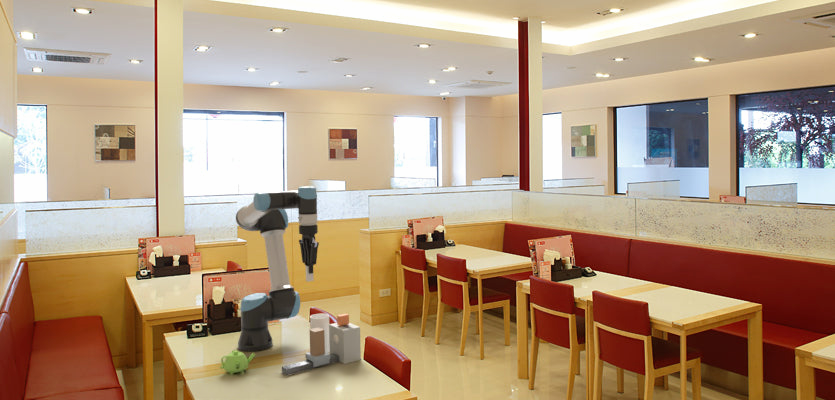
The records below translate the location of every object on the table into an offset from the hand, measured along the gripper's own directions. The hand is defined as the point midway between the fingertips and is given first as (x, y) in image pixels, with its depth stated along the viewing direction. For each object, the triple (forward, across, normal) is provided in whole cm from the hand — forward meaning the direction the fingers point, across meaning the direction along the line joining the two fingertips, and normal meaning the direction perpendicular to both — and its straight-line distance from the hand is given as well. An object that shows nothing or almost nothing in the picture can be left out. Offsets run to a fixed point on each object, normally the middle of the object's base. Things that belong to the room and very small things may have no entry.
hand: (309, 280), depth 239 cm
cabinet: (+34, +5, +13) cm, 37 cm away
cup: (+35, -9, +9) cm, 37 cm away
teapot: (+35, -10, -28) cm, 46 cm away
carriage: (+33, +5, 0) cm, 34 cm away
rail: (+34, +5, -3) cm, 35 cm away
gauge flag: (+20, +4, +13) cm, 25 cm away
